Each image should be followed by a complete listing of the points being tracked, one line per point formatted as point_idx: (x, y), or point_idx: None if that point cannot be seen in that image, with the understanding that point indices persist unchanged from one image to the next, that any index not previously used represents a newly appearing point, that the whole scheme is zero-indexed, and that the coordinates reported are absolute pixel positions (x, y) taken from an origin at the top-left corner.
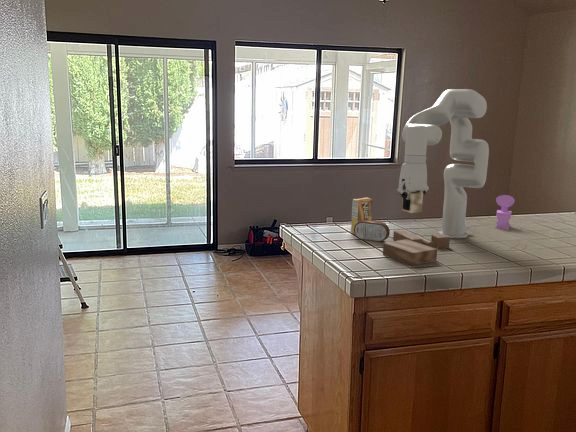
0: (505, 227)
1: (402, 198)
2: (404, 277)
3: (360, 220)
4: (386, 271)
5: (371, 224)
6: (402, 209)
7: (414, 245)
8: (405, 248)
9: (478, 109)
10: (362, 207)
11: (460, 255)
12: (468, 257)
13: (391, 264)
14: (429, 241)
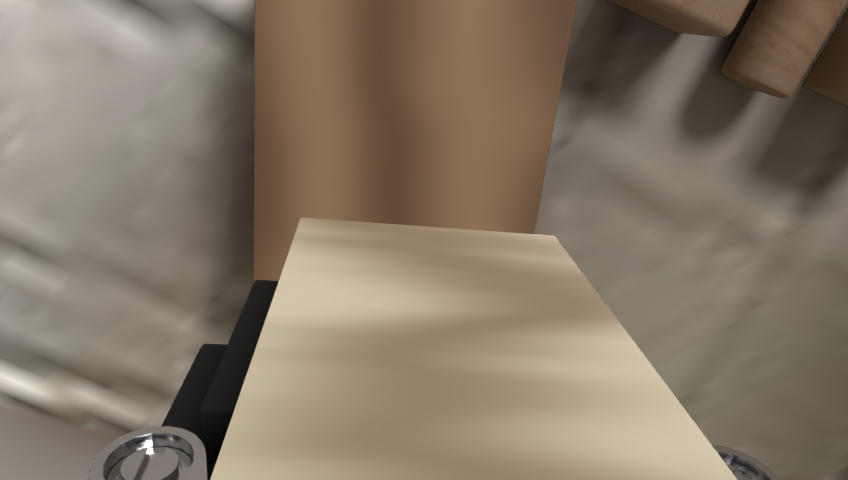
0: None
1: (133, 445)
2: (49, 415)
3: None
4: (9, 286)
5: None
6: (298, 233)
7: (447, 183)
8: (300, 208)
9: None
10: None
11: (740, 298)
12: (732, 350)
13: (149, 194)
14: (776, 68)
